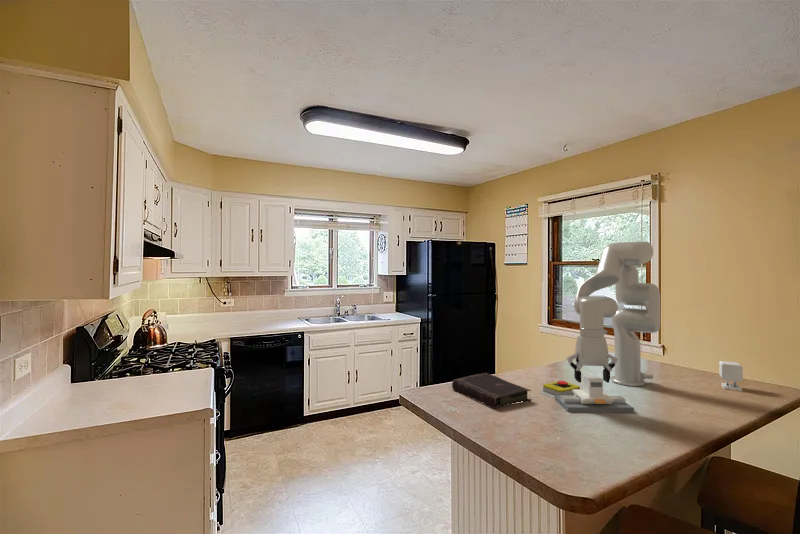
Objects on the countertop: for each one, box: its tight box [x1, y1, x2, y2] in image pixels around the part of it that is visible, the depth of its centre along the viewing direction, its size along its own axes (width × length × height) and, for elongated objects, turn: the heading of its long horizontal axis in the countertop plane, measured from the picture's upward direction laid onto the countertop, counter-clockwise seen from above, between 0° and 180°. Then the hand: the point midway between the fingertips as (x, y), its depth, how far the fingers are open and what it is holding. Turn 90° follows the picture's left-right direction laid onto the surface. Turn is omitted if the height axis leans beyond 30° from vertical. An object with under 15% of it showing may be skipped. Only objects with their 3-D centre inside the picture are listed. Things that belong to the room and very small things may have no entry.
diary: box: [451, 372, 532, 410], centre depth 146 cm, size 19×25×5 cm
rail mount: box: [554, 395, 635, 413], centre depth 134 cm, size 22×12×3 cm, turn 87°
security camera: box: [718, 360, 744, 392], centre depth 153 cm, size 6×7×10 cm
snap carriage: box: [572, 389, 614, 404], centre depth 133 cm, size 10×11×2 cm
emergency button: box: [538, 380, 581, 399], centre depth 149 cm, size 9×4×15 cm
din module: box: [581, 374, 604, 397], centre depth 134 cm, size 4×6×6 cm
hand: (592, 381), depth 134 cm, fingers open, 9 cm apart
